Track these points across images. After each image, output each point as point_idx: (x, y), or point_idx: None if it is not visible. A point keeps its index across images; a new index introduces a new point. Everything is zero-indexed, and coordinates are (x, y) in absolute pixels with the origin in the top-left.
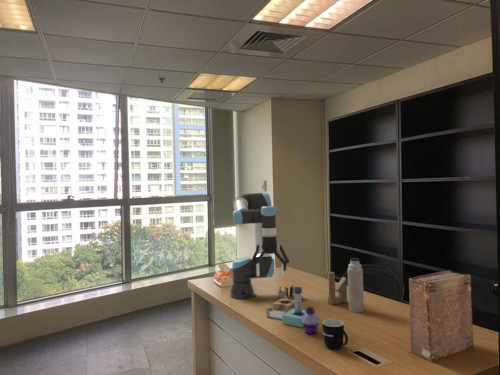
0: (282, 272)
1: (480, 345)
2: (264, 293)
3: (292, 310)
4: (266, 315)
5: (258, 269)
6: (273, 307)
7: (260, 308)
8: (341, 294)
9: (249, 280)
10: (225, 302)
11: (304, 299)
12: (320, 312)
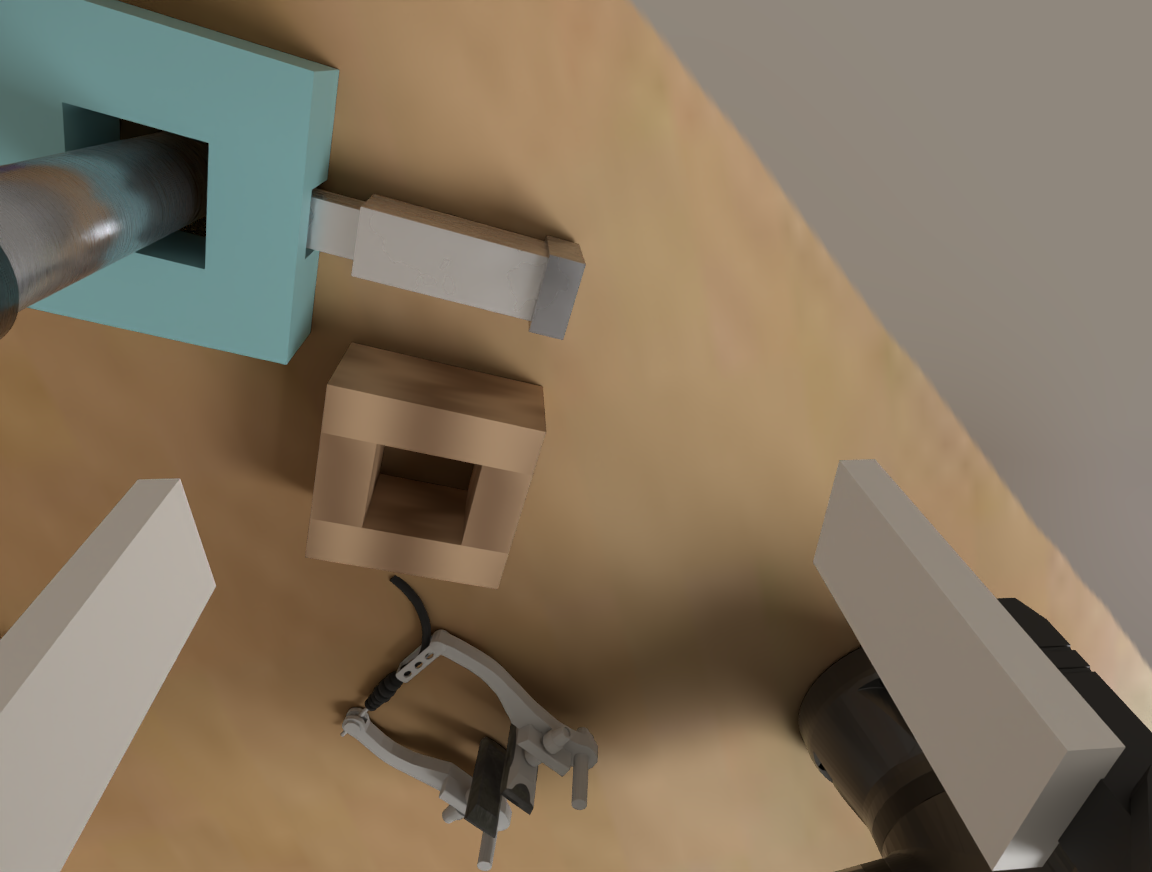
0: (90, 570)
1: None
2: (722, 766)
3: (262, 293)
4: (579, 246)
5: (912, 624)
6: (539, 408)
7: (691, 462)
8: None
9: (895, 824)
10: (1034, 535)
11: (359, 714)
12: (91, 481)
